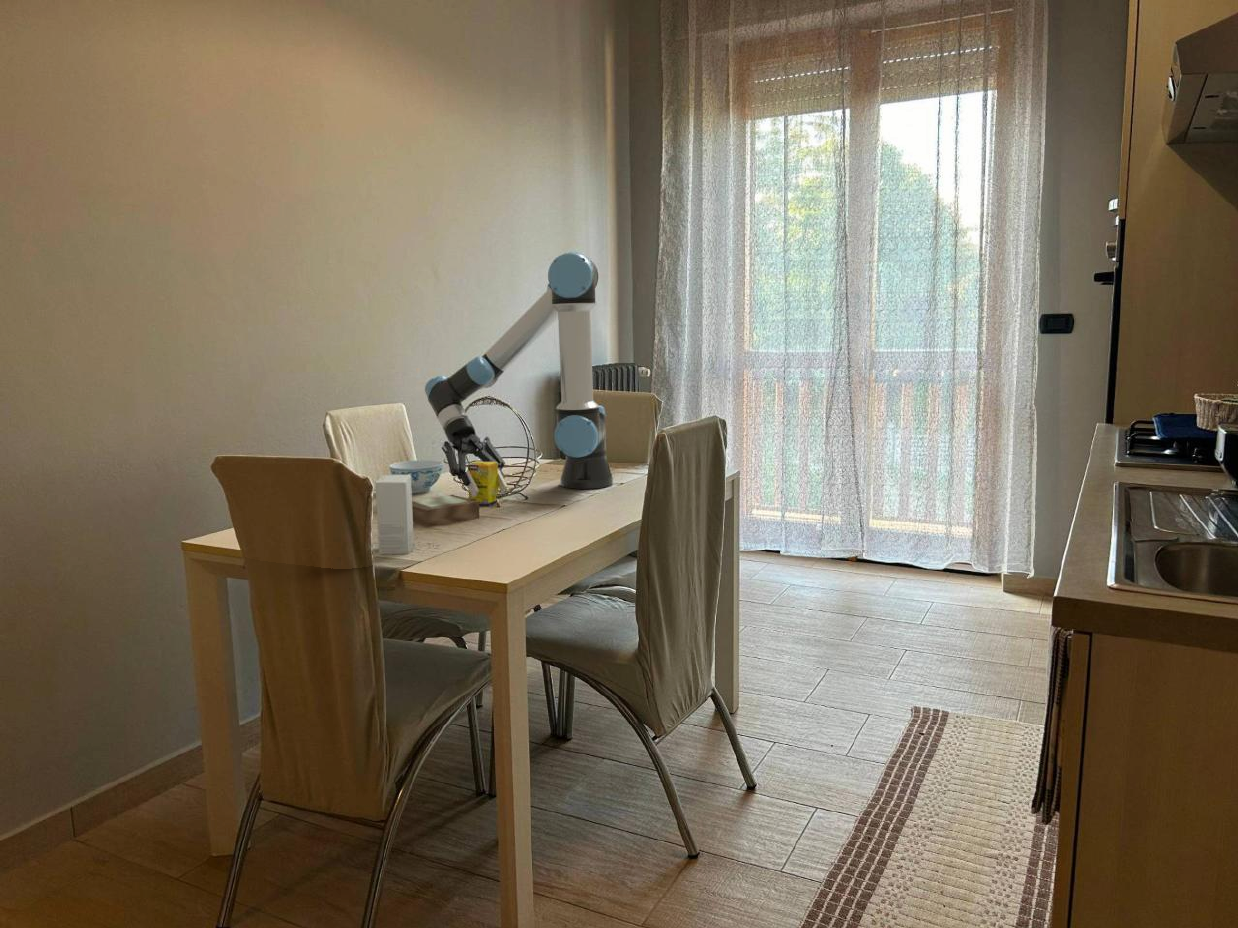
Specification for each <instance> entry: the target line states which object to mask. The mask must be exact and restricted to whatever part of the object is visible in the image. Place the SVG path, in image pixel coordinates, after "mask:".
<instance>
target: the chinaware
mask: <svg viewBox="0 0 1238 928" xmlns="http://www.w3.org/2000/svg"><path fill="white" fill-rule="evenodd" d="M388 468H389V470H390V473H391V474H390V475H409V474H410V475H411V488H412V494H422V493H427V492H429V491H431V487H433V486H434V485H435V484H436V483H437V482H438V480H439V479H440V477H441V475H442V472H443V468H444V462H443V461H441V460H429V459H426V460H425V459H423V460H422V459H421V460H418V459H417V460H406V461H399V462H395V463H391V464H389V467H388Z"/></svg>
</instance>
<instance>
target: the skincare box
mask: <svg viewBox="0 0 1238 928" xmlns="http://www.w3.org/2000/svg"><path fill="white" fill-rule="evenodd" d="M375 495H376V497H375V499H376V515H377V516H376V518H377V519H376V520H377V539H378V540H377V541H378V555H379V556H385V555H387V556H388V555H389V554H391V555H409V554H410V552H411V550H412V548H413V546H414V544H415V542H414V541H415V540H414V538H415V537H414V522H413V512H412V501H413V493H412V488H411V475H410V474H409V475H392V474H384V475H383V474H382V475H381V476H380V477H379V479H377V480H376V482H375ZM389 556H390V555H389Z"/></svg>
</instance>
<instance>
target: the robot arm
mask: <svg viewBox="0 0 1238 928" xmlns="http://www.w3.org/2000/svg"><path fill="white" fill-rule="evenodd" d="M598 271H599V270H598V268H597V266H596V264H595V263H594V262H593V261H592V259H590V258H588V257H587V256H585V255H584V254H581V253H578V252H572V251H571V252H566V253H565V252H564V253H562V254H560V255H558V256H557V257H555V258H554V260H553V261H552V262H551V264H550V266H549V269H548V272H547V280H548V284H547V287H546V292H544V293H543V294H542V296H540V297H539V298H538V299H537V300H536V302H535V303H533V305H531V307H529V308H528V309H527V310H526V312H525V313H524V314H522V315H521V317H519V319H518V320H517V321H515V323H514V324H513V325H512V326H511V327H509V329H508V330H506V332H505V333H503V335H502V336H501V337H499V339H498V340H497V341H495V342H494V344H493V345H491V347H490V348H489V349H488V350H487V351H486V352H485V353H484V354H483V355H482V356H481V355H478V356H476V357H474V358H473V359H471V360H469V361H468V362H467V363H466V364H465V365H464V366H462V367H460V369H458V370H457V371H456V372H454V373H453V374H451V376H449V377H447V376H444V375H437V376H436V377H433V378H431V379H429V380H428V381H427V382H426V384H425V386H424V391H425V395H426V397H427V401H428V403H429V405H430V406H431V408H432V409H433V412H434V414H435V416H436V417H437V420H438V422H439V425H440V426H441V428H442V430H443V431H444V434H445V436H446V438H447V440H448V441H447V440H445V441H444V442H443V444H442V446H441V450H442V451H443V453H444V454H445V457H446V461H447V464H448V468H449V471H450V475H451V476H452V477H457V479H458V480H461V481H462V483H463V485H464V487H467V488H469V489H468V491H469V490H470V493H471V495H472V497H476V495H477V494H478V492H479V490H478V488H477V486H476V484H475V482H474V480H473V478H472V476H471V474H470V472H469V471H468V470H467V471H466V469H467V467H466V463H467V462H466V461H467V460H466V459H467V458H466V457H467V455H473V456H474V457H477V458H478V459H480V460H481V461H482V462H498V488H499V491H500V492H501V494H504V493H505V492H506V490H507V488H508V484H507V483H506V481H505V478H506V476H505V473H504V471H503V470H502V469H503V468H504V467H505V465H506V461H505V460H504V458H503V457H502V456H501V455H500V454H499V452H498V450H497V449H496V448H495V447H494V445H493V444H492V443H491V438H490V437H489V436H485V438H481V437H479V436H478V435H477V434H476V430H475V428H474V425H473V423H472V421H471V420H470V418H469V416H468V414H467V412H466V409H465V408H464V407H463V405H462V403H463V402H464V401H466V400H467V399H468V398H470V397H471V396H472V395H474V394H475V393H476V392H478V391H480V390H483V389H486V388H490V387H492V386H494V384H496V383H497V381H498V380H499V378H500V377H501V376H502V375H503V373H504V372H506V371H507V370H508V369H509V367H511V365H512V364H514V362H516V361H517V359H518V358H520V357H521V355H523V354H524V353H525V351H526V350H528V349H529V348H530V347H531V346H532V345H533V343H535V341H537V340H538V339H539V338H540V337H541V336H542V335H543V334H544V333H545V332H546V331H547V330H548V329H549V328H550V327H551V326H552V325H553V324H554V323H555V322H556V321H558V343H559V345H558V346H559V365H560V366H559V367H560V393H561V394H560V395H561V401H560V403H559V404H558V405H557V406H556V408H555V409H556V411H555V412H556V426H555V429H554V440H555V444H556V446H557V448H558V449H559V450H560V451H561V453H563V454H564V455H565V460H564V465H563V468H562V471H561V476H560V479H559V480H560V487H563V488H567V489H575V490H576V489H577V490H589V489H592V490H594V489H601V488H602V489H603V488H606V487H607V488H608V487H610V486H612V485H613V484H614V483H613V481H614V479H613V474H612V472H611V467H610V464H609V462H608V460H607V459H608V458H607V443H606V442H607V441H606V440H607V437H606V418H607V415H606V411H605V407H604V406H602V405H599V404H597V402H595V401H594V385H593V384H594V383H593V382H594V381H593V358H592V357H593V355H592V352H593V351H592V329H591V328H592V327H591V325H592V324H591V310H592V309H593V307H595V306H596V287H597V286H598V282H599V272H598ZM454 450H455V451H457V458H456V455H455V452H454ZM465 453H466V454H465ZM457 459H458V461H457Z"/></svg>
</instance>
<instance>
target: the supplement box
mask: <svg viewBox="0 0 1238 928" xmlns="http://www.w3.org/2000/svg"><path fill="white" fill-rule="evenodd" d="M467 471H469V472H470V474H471V476H472V478H473V480H474V482H475V484H476V486H477V488H478V490H479V492H478V494H477V495H476V497H472V495H471V493H470V490H469V488H468V487H467V488H468V499H470V500H474V501H477V502H479V505H483V507H484V506H485V507H491V506H493V505H495V504H494V503H496V502H497V499H496V495H497V494H500V492H499V491H500V489H499V487H498V462H483V461H482V460H481V461H480V460H477V461H474V462H471V463H468V464H467ZM496 504H497V503H496ZM490 505H491V506H490Z"/></svg>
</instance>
